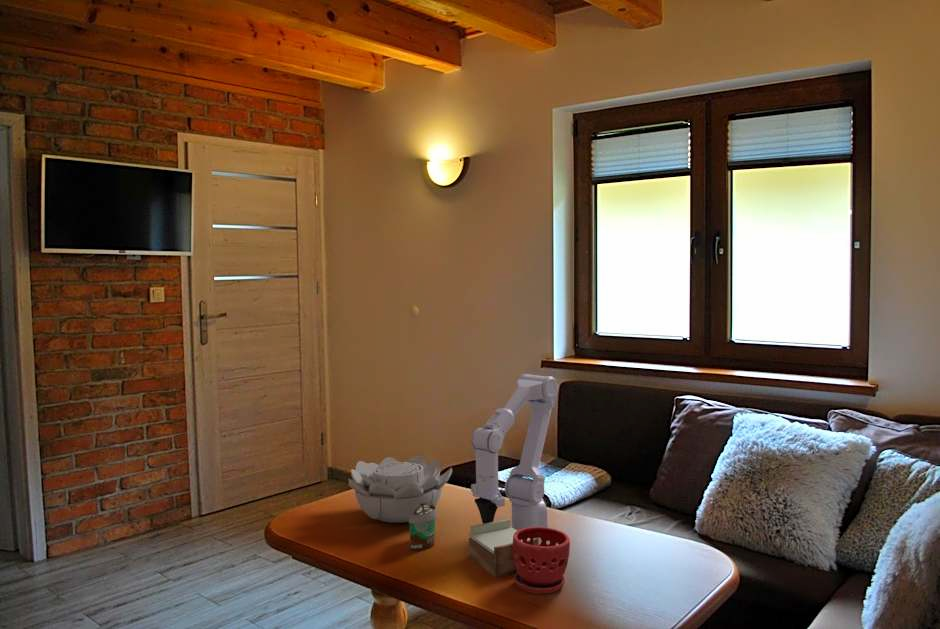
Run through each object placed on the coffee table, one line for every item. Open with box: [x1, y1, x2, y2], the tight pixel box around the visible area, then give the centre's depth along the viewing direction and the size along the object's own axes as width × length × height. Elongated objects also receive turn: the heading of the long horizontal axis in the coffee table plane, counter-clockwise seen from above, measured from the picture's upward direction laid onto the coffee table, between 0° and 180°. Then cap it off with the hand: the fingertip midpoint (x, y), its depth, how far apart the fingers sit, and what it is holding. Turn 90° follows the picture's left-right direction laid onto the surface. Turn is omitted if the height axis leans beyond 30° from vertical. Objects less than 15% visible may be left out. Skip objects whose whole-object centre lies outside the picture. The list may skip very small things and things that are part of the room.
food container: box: [408, 501, 439, 552], centre depth 198 cm, size 12×6×10 cm, turn 168°
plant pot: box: [513, 527, 571, 595], centre depth 172 cm, size 13×13×12 cm
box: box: [468, 537, 539, 578], centre depth 186 cm, size 12×14×7 cm
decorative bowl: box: [348, 454, 453, 524], centre depth 219 cm, size 30×30×15 cm
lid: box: [468, 518, 530, 554], centre depth 186 cm, size 12×13×3 cm
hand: (487, 526), depth 192 cm, fingers closed
